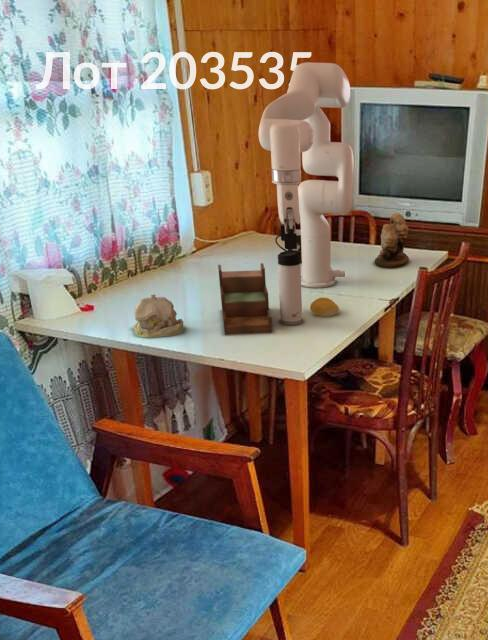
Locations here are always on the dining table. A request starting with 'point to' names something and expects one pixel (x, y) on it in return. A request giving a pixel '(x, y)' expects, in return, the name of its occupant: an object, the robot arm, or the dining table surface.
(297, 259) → the travel mug
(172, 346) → the dining table surface
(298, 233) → the coffee mug
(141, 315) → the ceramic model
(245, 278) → the step rack
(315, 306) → the bread roll
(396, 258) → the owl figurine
